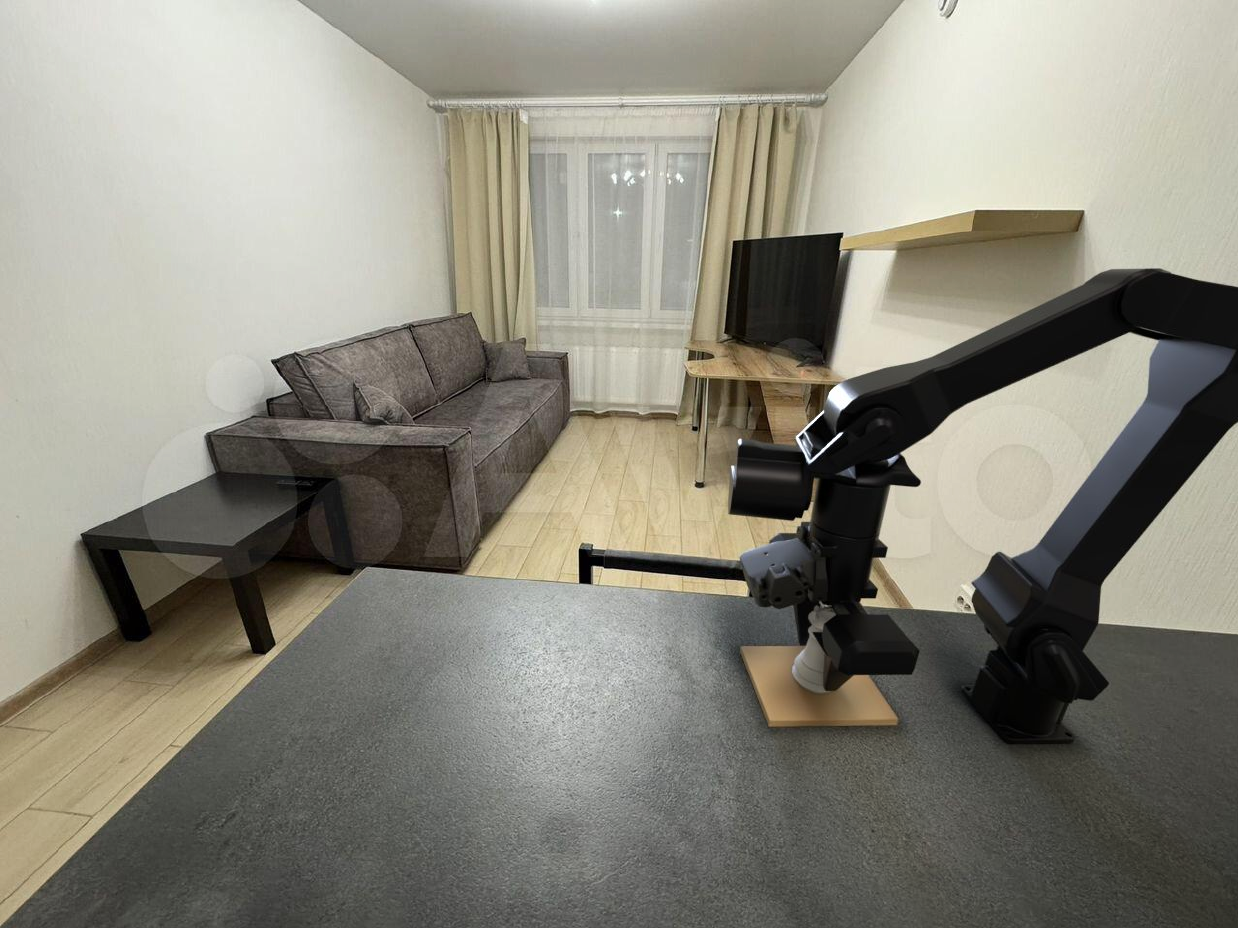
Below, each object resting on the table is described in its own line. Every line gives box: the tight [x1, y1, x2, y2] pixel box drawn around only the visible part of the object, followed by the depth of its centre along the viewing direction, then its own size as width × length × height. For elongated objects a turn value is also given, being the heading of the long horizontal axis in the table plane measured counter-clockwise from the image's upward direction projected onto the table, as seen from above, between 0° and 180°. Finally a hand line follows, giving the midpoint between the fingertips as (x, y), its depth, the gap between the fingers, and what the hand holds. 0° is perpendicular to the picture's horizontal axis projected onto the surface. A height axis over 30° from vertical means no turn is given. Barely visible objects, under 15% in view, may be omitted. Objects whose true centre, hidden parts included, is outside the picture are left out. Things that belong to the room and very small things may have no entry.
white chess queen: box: [792, 605, 836, 694], centre depth 51 cm, size 4×4×8 cm
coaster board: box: [739, 645, 899, 728], centre depth 52 cm, size 12×10×1 cm
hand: (816, 666), depth 51 cm, fingers open, 6 cm apart
